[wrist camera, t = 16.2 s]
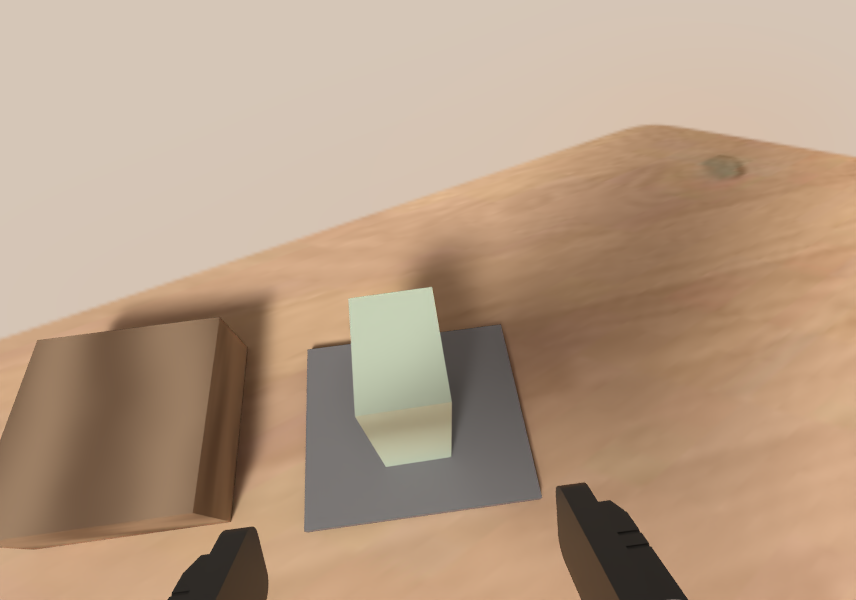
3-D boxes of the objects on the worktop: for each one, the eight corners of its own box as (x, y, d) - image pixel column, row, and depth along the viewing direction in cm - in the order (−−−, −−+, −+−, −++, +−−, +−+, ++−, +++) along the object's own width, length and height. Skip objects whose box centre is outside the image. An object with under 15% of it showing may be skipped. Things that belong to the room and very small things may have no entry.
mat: (499, 328, 28) (500, 324, 28) (540, 499, 23) (542, 497, 23) (310, 353, 28) (307, 349, 27) (307, 532, 23) (304, 531, 22)
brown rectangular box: (247, 347, 28) (219, 317, 25) (230, 521, 23) (192, 513, 20) (87, 368, 28) (37, 340, 25) (34, 549, 23) (-39, 545, 19)
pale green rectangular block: (437, 370, 26) (432, 287, 19) (451, 456, 24) (451, 402, 16) (378, 378, 26) (348, 298, 19) (385, 467, 24) (354, 416, 16)
